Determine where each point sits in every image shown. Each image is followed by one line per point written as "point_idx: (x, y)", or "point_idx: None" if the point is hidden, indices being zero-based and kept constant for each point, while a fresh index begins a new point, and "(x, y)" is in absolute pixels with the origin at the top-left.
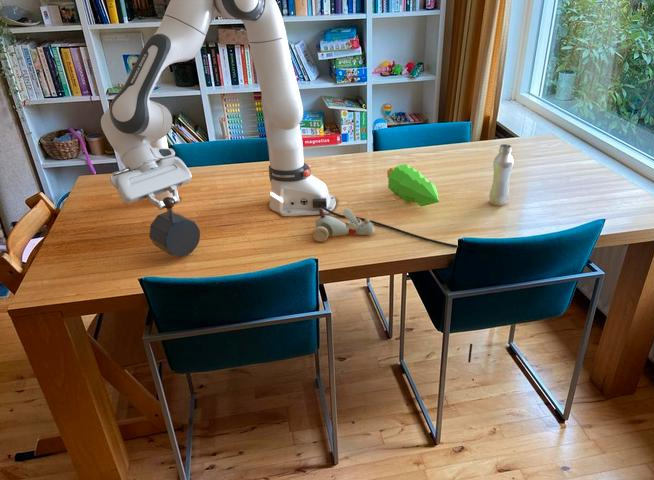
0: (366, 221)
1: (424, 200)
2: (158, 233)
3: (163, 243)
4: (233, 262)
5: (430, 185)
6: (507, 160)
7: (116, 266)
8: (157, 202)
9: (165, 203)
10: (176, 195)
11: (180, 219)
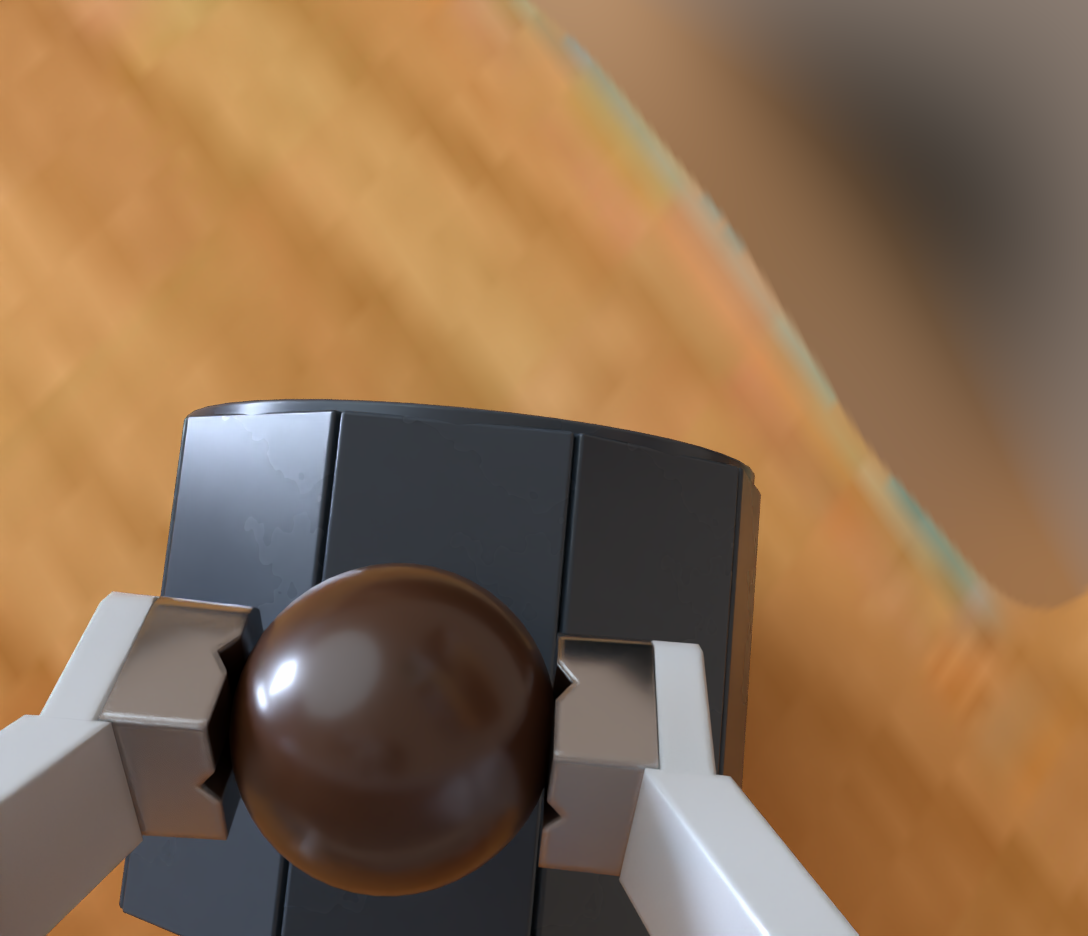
0: None
1: None
2: (734, 681)
3: (755, 531)
4: (262, 53)
5: None
6: None
7: None
8: (714, 777)
9: (527, 659)
10: (62, 705)
11: (408, 445)
